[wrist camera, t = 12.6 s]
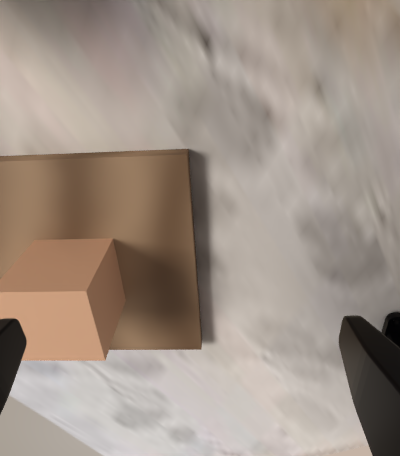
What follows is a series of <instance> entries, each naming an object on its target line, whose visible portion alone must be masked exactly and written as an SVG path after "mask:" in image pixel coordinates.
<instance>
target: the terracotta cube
mask: <svg viewBox="0 0 400 456" xmlns="http://www.w3.org/2000/svg"><path fill="white" fill-rule="evenodd" d="M125 301H126V299H125V294H124V289H123V284H122V279H121V275H120V270H119V265H118V260H117V255H116V250H115V246H114V241H113V238H108V239H63V240H34V242H33V243H32V244H31V245H30V246H29V247H28V248H27V249H26V251H25V252H24V253H23V254H22V255H21V256H20V257H19V259H18V260H17V261H16V262H15V263H14V264H13V265H12V266H11V268H10V269H9V270H8V271H7V272H6V273H5V274H4V276H3V277H2V278H1V279H0V319H4V318H15V319H17V320H18V321H19V322H20V325H21V327H22V329H23V332H24V334H25V336H26V340H27V345H26V349H25V352H24V354H23V357H22V360H106V357H107V354H108V351H109V348H110V345H111V342H112V339H113V336H114V333H115V330H116V328H117V325H118V322H119V319H120V316H121V313H122V310H123V307H124V304H125Z"/></svg>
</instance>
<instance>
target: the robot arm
mask: <svg viewBox="0 0 400 456" xmlns="http://www.w3.org/2000/svg"><path fill="white" fill-rule="evenodd" d="M393 320H394V321H393ZM26 345H27V340H26V336H25V334H24V332H23V329H22V327H21V325H20V322H19V321H18V320H17V319H15V318H4V319H0V414H1V412H2V410H3V408H4V405H5V403H6V401H7V398H8V396H9V393H10V391H11V388H12V385H13V382H14V380H15V377H16V374H17V371H18V368H19V366H20V363H21V360H22V357H23V354H24V352H25V349H26ZM339 347H340V351H341V355H342V359H343V363H344V367H345V371H346V375H347V379H348V383H349V387H350V391H351V395H352V399H353V403H354V406H355V409H356V412H357V414H358V417H359V420H360V423H361V425H362V428H363V431H364V433H365V436H366V439H367V442H368V444H369V447H370V450H371V452H372V455H373V456H400V313H391V314H389V315H388V316H387V317H386V319H385V322H384V326H383V329H382V333H381V332H380V331H378V330H377V329H376V328H375V327H374V326H372V325H371V324H370V323H369V322H367V321H366V320H365V319H364V318H363V317H361V316H345V317H344V318H343V320H342V325H341V330H340V335H339Z"/></svg>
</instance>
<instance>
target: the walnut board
mask: <svg viewBox="0 0 400 456" xmlns="http://www.w3.org/2000/svg"><path fill="white" fill-rule="evenodd" d="M108 238H113V241H114V246H115V250H116V255H117V260H118V265H119V270H120V275H121V279H122V284H123V289H124V294H125V299H126V301H125V304H124V307H123V310H122V313H121V316H120V319H119V322H118V325H117V328H116V330H115V333H114V336H113V339H112V342H111V345H110V348H109V350H170V349H201V347H202V333H201V319H200V305H199V291H198V277H197V263H196V249H195V235H194V221H193V206H192V192H191V178H190V164H189V150H188V149H175V150H150V151H124V152H99V153H74V154H49V155H23V156H0V279H1V278H2V277H3V276H4V274H5V273H6V272H7V271H8V270H9V269H10V268H11V266H12V265H13V264H14V263H15V262H16V261H17V260H18V259H19V257H20V256H21V255H22V254H23V253H24V252H25V251H26V249H27V248H28V247H29V246H30V245H31V244H32V243H33V242H34V240H63V239H108Z"/></svg>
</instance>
